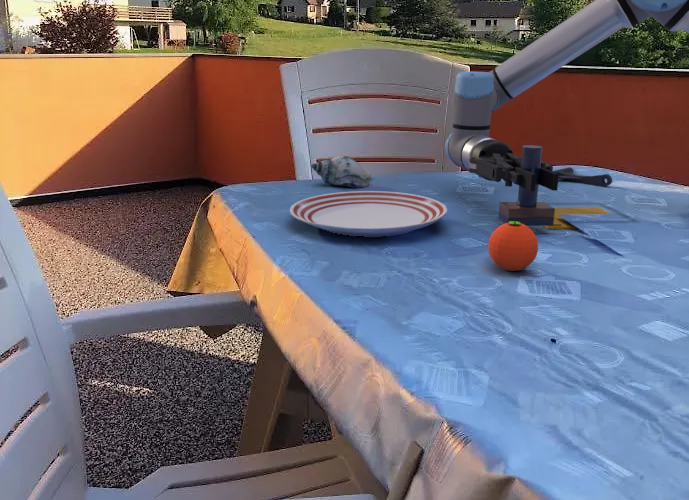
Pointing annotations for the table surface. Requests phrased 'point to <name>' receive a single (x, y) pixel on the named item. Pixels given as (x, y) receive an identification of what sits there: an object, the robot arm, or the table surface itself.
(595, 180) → the bracket
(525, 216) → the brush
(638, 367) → the table surface
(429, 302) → the table surface
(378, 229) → the dinner plate
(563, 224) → the yellow carpenter square
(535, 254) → the clementine
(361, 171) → the seashell
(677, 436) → the table surface
